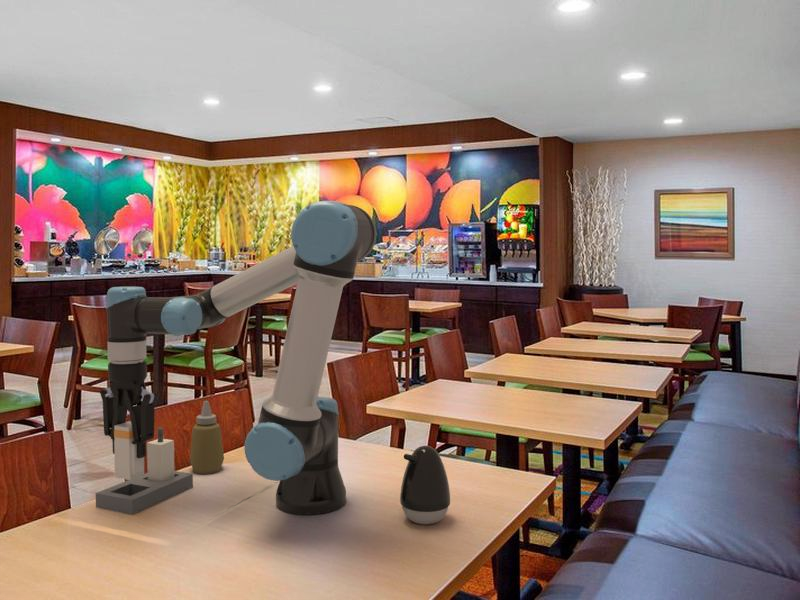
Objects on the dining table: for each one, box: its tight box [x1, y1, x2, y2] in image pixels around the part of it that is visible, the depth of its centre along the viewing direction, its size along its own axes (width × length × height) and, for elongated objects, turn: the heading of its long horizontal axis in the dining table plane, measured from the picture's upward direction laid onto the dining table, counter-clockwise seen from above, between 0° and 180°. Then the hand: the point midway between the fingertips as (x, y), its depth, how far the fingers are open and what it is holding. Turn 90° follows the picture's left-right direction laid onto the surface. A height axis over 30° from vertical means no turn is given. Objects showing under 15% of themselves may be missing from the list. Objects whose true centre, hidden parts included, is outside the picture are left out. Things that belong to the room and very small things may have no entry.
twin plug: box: [146, 427, 175, 482], centre depth 150 cm, size 4×4×14 cm
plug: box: [114, 420, 145, 481], centre depth 141 cm, size 4×4×11 cm
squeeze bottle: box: [189, 400, 225, 475], centre depth 164 cm, size 8×8×18 cm
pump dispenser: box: [399, 445, 451, 525], centre depth 136 cm, size 10×10×15 cm
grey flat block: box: [95, 470, 194, 516], centre depth 146 cm, size 10×18×4 cm, turn 157°
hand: (129, 470), depth 142 cm, fingers closed on plug, 4 cm apart
